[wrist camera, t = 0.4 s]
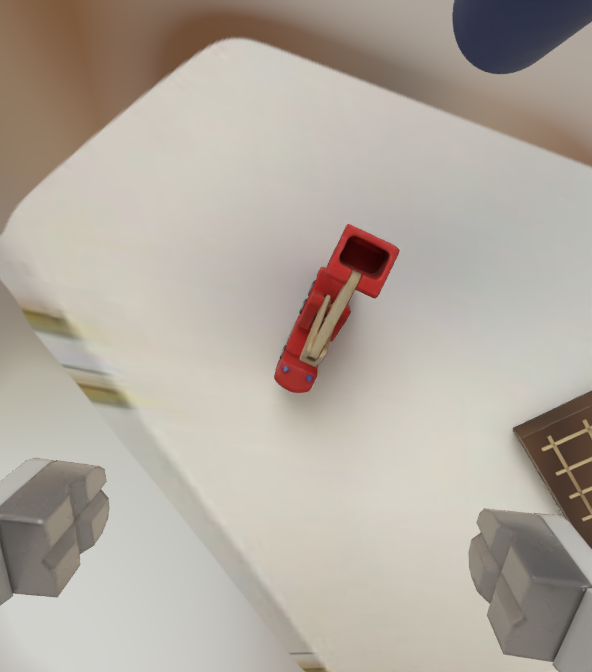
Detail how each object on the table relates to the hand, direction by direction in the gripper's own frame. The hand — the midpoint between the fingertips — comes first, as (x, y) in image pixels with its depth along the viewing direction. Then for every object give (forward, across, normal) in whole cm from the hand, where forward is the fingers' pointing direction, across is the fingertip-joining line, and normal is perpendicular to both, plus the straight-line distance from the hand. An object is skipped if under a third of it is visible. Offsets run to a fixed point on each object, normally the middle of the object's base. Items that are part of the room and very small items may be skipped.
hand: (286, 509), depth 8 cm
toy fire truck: (+24, -1, +1) cm, 24 cm away
